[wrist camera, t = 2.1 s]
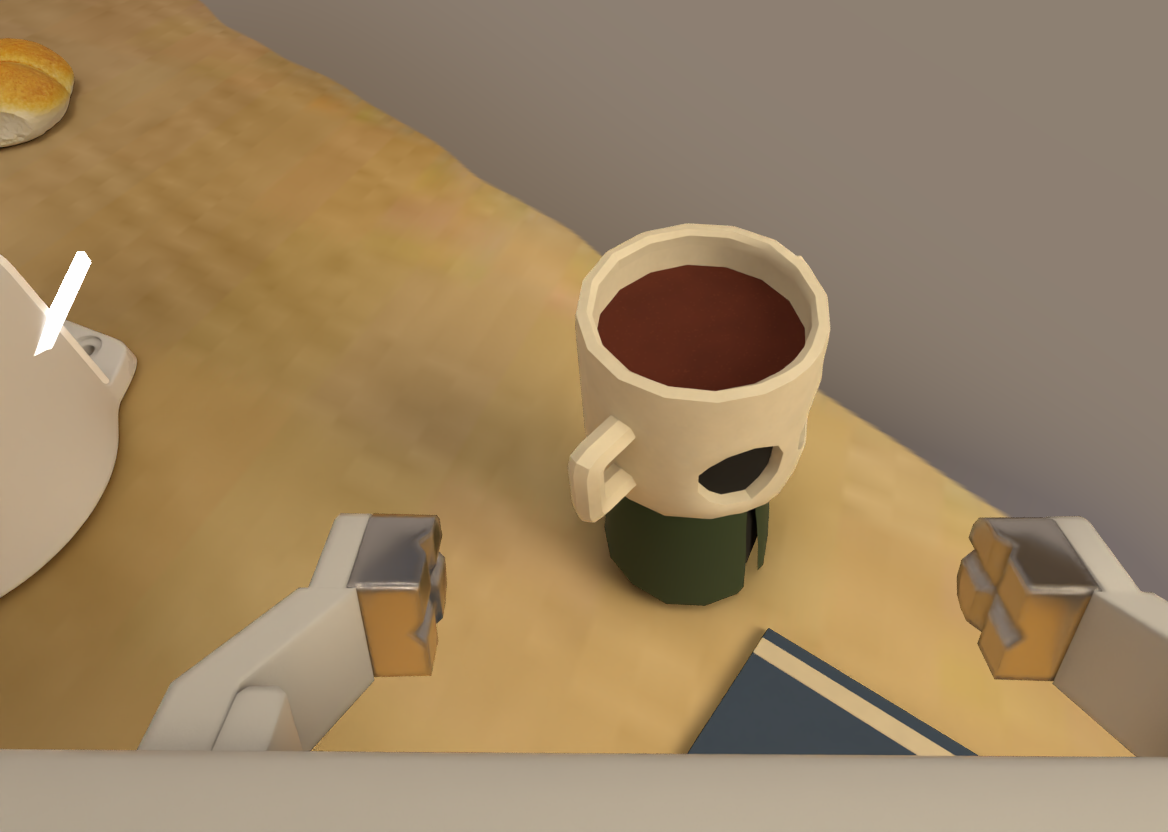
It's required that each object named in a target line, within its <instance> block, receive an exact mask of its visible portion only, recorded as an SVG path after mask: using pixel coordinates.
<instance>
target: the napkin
mask: <svg viewBox="0 0 1168 832" xmlns="http://www.w3.org/2000/svg"><path fill="white" fill-rule="evenodd" d="M687 754H791V755H921V756H978V755H977V754H975V753H973V752H972V751H970V750H968V749H967V748H965V747H963V746H962V745H960V744H959V743H957V742H955V741H954V740H952V739H950V738H949V737H947V736H945V735H944V734H942V733H940V732H939V731H937V730H936V729H934V728H932V727H931V726H929V725H927V724H926V723H924V722H922V721H921V720H919V719H917V718H916V717H914V716H913V715H911V714H909V713H908V712H906V711H904V710H903V709H901V708H899V707H898V706H896V705H894V704H893V703H891V702H889V701H888V700H886V699H885V698H883V697H881V696H880V695H878V694H876V693H875V692H873V691H871V690H870V689H868V688H866V687H865V686H863V685H862V684H860V683H858V682H857V681H855V680H853V679H852V678H850V677H848V676H847V675H845V674H843V673H842V672H840V671H839V670H837V669H835V668H834V667H832V666H830V665H829V664H827V663H825V662H824V661H822V660H820V659H819V658H817V657H815V656H814V655H812V654H811V653H809V652H807V651H806V650H804V649H802V648H801V647H799V646H797V645H796V644H794V643H792V642H791V641H789V640H788V639H786V638H784V637H783V636H781V635H779V634H778V633H776V632H774V631H773V630H771V629H769V628H768V629H767V631H766V632H765V634H764V635H763V637H762V638H761V640H760V641H759V643H758V644H757V646H756V648H755V649H754V651H753V652H752V654H751V656H750V657H749V659H748V660H747V662H746V663H745V665H744V666H743V668H742V670H741V671H740V673H739V674H738V676H737V677H736V679H735V680H734V682H733V683H732V685H731V687H730V688H729V690H728V691H727V693H726V694H725V696H724V697H723V699H722V701H721V702H720V704H719V705H718V707H717V708H716V710H715V711H714V713H713V715H712V716H711V718H710V719H709V721H708V722H707V724H706V725H705V727H704V728H703V730H702V732H701V733H700V735H699V736H698V738H697V739H696V741H695V742H694V744H693V746H692V747H691V749H690V750H689V752H688V753H687Z"/></svg>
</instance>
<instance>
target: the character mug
mask: <svg viewBox="0 0 1168 832" xmlns="http://www.w3.org/2000/svg"><path fill="white" fill-rule="evenodd" d="M575 330H576V341H577V352H578V363H579V374H580V384H581V395H582V406H583V417H584V428H585V433H586V438H585V439H584V440H583V441H582V442H581V443H580V444H579V445H578V446H577V447H576V449H575V450H574V451H573V452H572V454H571V455H570V458H569V463H568V475H569V483H570V491H571V499H572V505H573V507H574V509H575V511H576V513H577V515H578V517H579V518H580V519H581V520H582V521H585V522H592V523H594V522H596V521H597V520H599V519H600V518H602V517H603V516H604V515H605V514H606V518H605V532H606V537H607V542H608V547H609V551H610V556H611V558H612V559H613V561H614V562H615V563H616V564H617V566H618V567H619V568H620V569H621V570H622V572H623V573H624V574H625V575H626V577H627V578H628V579H629V580H630V582H631V583H632V584H633V585H635V586H637V587H638V588H640V589H642V590H644V591H645V592H647V593H649V594H651V595H652V596H654V597H656V598H658V599H659V600H661V601H663V602H664V603H666V604H683V605H702V606H705V605H708V604H711V603H713V602H716V601H719V600H721V599H724V598H727V597H729V596H732V595H735V594H737V593H738V592H739V591H740V590H741V589H742V588H743V585H744V573H745V563H746V562H747V560H748V557H749V555H750V552H751V550H752V547H753V545H754V543H755V540H756V538H757V535H758V569H759V568H760V567H761V566H762V565H763V561H764V555H765V549H766V542H767V536H768V521H769V501H770V500H771V499H772V498H774V497H775V496H776V495H777V494H778V493H780V491H781V490H782V488H783V487H784V485H785V484H786V482H787V481H788V479H789V478H790V476H791V475H792V473H793V472H794V470H795V468H796V465H797V463H798V461H799V458H800V456H801V454H802V451H803V449H804V447H805V444H806V432H807V416H808V414H809V411H810V408H811V406H812V403H813V400H814V398H815V395H816V392H817V390H818V387H819V384H820V381H821V379H822V368H823V361H824V357H825V352H826V348H827V344H828V340H829V334H830V319H829V309H828V298H827V295H826V293H825V291H824V290H823V288H822V287H821V285H820V283H819V282H818V280H817V279H816V277H815V275H814V274H813V272H812V271H811V269H810V267H809V266H808V264H806V262H805V261H804V259H803V258H802V256H796V255H794V254H793V253H792V252H790V251H789V250H788V249H786V248H785V247H784V246H782V245H781V244H780V243H778V242H777V241H776V240H774V239H771V238H768V237H765V236H762V235H759V234H755V233H752V232H749V231H746V230H743V229H740V228H737V227H734V226H722V225H705V224H688V223H687V224H682V225H677V226H672V227H667V228H662V229H657V230H652V231H647V232H643V233H641V234H639V235H637V236H635V237H633V238H631V239H630V240H628V241H626V242H624V243H622V244H620V245H618V246H616V247H614V248H613V249H611V250H609V251H607V252H606V253H605V254H604V256H603V257H602V258H601V259H600V260H599V262H598V263H597V264H596V265H595V266H594V267H593V269H592V270H591V271H590V272H589V273H588V275H587V276H586V277H585V278H584V279H583V282H582V287H581V292H580V297H579V301H578V306H577V311H576V321H575Z"/></svg>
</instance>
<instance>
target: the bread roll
mask: <svg viewBox="0 0 1168 832" xmlns="http://www.w3.org/2000/svg"><path fill="white" fill-rule="evenodd" d="M73 84H74V74H73V71H72V69H71V67H70V66H69V64H68V63H67V62H66V61H65V60H64V59H63V58H62V57H60V56H59V55H58V54H56V53H55V52H53V51H52V50H50V49H49V48H47V47H45V46H43V45H41V44H38V43H35V42H32V41H27V40H22V39H10V38H6V39H0V147H7V146H12V145H17V144H21V143H24V142H27V141H30V140H33V139H35V138H37V137H39V136H41V135H43V134H44V133H45V132H46V131H47V130H49V129H50V128H52V127H53V126H54V125H55V124H56V123H58V122H59V121H60V120H61V119H62V117H63V116H64V114H65V112H66V110H67V108H68V105H69V100H70V95H71V93H72V90H73Z"/></svg>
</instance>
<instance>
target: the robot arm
mask: <svg viewBox="0 0 1168 832" xmlns="http://www.w3.org/2000/svg"><path fill="white" fill-rule="evenodd" d="M90 264H91V261H90V259H89V258H88V256H87V255H86V253H85V252H84V251H79V252H77V253H76V255H75V258H74V260H73V262H72V264H71V266H70V268H69V270H68V272H67V274H66V276H65V278H64V280H63V282H62V285H61V287H60V289H59V291H58V293H57V295H56V297H55V299H54V301H53V303H52V305H51V307H50V309H49V308H48V307H47V305H46V304H45V303H44V302H43V301H42V299H41V298H40V297H39V296H38V295H37V294H36V292H35V291H34V290H33V289H32V288H31V286H30V285H29V284H28V283H27V282H26V281H25V279H24V278H23V277H22V276H21V275H20V274H19V272H18V271H17V270H16V269H15V268H14V267H13V265H12V264H11V263H10V262H9V261H8V260H7V259H6V258H4V257H3V256H2V255H1V254H0V598H1V597H2V596H4V595H5V594H7V593H8V592H10V591H11V590H13V589H14V588H16V587H17V586H19V585H20V584H21V583H23V582H24V581H26V580H27V579H28V578H29V577H31V576H32V575H33V574H34V573H36V572H37V571H38V570H39V569H41V568H42V567H43V566H44V565H45V564H46V563H47V562H49V561H50V560H51V559H52V558H53V557H54V556H55V555H56V554H57V553H58V552H59V551H60V550H61V549H62V548H63V547H64V546H65V545H66V544H67V543H68V542H69V541H70V540H71V538H72V537H73V536H74V535H75V534H76V533H77V531H78V530H79V529H80V528H81V526H82V525H83V524H84V522H85V521H86V520H87V518H88V517H89V515H90V514H91V513H92V511H93V510H94V508H95V506H96V505H97V503H98V501H99V500H100V498H101V496H102V494H103V492H104V490H105V488H106V486H107V484H108V482H109V479H110V477H111V474H112V471H113V468H114V465H115V461H116V457H117V451H118V441H119V430H118V413H119V406H120V402H121V400H122V398H123V397H124V395H125V393H126V391H127V389H128V387H129V385H130V383H131V380H132V378H133V376H134V373H135V370H136V367H137V358H136V356H135V355H134V354H133V353H132V352H131V350H130V349H129V348H128V347H127V346H126V345H125V344H124V343H123V342H122V341H120V340H118V339H115V338H113V337H110V336H107V335H105V334H102V333H99V332H97V331H94V330H91V329H89V328H86V327H84V326H81V325H78V324H76V323H73V322H70V321H68V320H65V318H66V316H67V314H68V312H69V310H70V307H71V305H72V303H73V301H74V299H75V297H76V294H77V292H78V290H79V288H80V286H81V284H82V281H83V279H84V277H85V275H86V273H87V271H88V268H89V266H90ZM441 539H442V531H441V524H440V519H439V517H438V516H437V515H414V514H377V513H373V514H356V513H340V514H339V515H338V516H337V517H336V519H335V520H334V522H333V525H332V527H331V530H330V533H329V535H328V538H327V540H326V543H325V546H324V548H323V551H322V553H321V556H320V558H319V561H318V564H317V566H316V569H315V571H314V574H313V577H312V579H311V582H310V584H309V587H308V588H298V589H296V590H295V591H294V592H292V593H291V594H290V595H288V596H287V597H286V598H284V599H283V600H282V601H280V602H279V603H278V604H276V605H275V606H274V607H272V608H271V609H270V610H268V611H267V612H266V613H264V614H263V615H261V616H260V617H259V618H257V619H256V620H255V621H253V622H252V623H251V624H249V625H248V626H247V627H245V628H244V629H243V630H241V631H240V632H239V633H237V634H236V635H235V636H233V637H232V638H231V639H229V640H228V641H227V642H225V643H224V644H222V645H221V646H220V647H218V648H217V649H216V650H214V651H213V652H212V653H210V654H209V655H208V656H206V657H205V658H204V659H202V660H201V661H200V662H198V663H197V664H196V665H194V666H193V667H192V668H190V669H189V670H188V671H186V672H185V673H183V674H182V675H181V676H179V677H178V678H177V679H175V680H174V681H173V682H171V684H170V686H169V688H168V690H167V691H166V693H165V695H164V697H163V699H162V701H161V703H160V705H159V707H158V709H157V711H156V713H155V715H154V717H153V719H152V721H151V723H150V725H149V727H148V729H147V731H146V733H145V735H144V737H143V739H142V741H141V743H140V745H139V747H138V749H137V750H61V749H0V832H1168V601H1166V600H1164V599H1162V598H1161V597H1159V596H1157V595H1155V594H1154V593H1152V592H1141V591H1140V590H1139V588H1138V587H1137V586H1136V584H1135V583H1134V582H1133V581H1132V579H1131V578H1130V577H1129V575H1128V574H1127V572H1126V571H1125V570H1124V568H1123V567H1122V565H1121V564H1120V563H1119V561H1118V560H1117V559H1116V557H1115V556H1114V555H1113V553H1112V552H1111V550H1110V549H1109V548H1108V546H1107V545H1106V544H1105V542H1104V541H1103V540H1102V538H1101V537H1100V536H1099V534H1098V533H1097V531H1096V530H1095V529H1094V528H1093V526H1092V525H1091V524H1090V522H1089V521H1088V520H1086V519H1085V518H1083V517H1081V516H1071V517H1070V516H1069V517H1066V516H1064V517H1046V518H1041V517H1040V518H978V520H977V521H976V522H975V523H974V524H973V527H972V529H971V532H970V535H969V539H970V541H971V543H972V545H973V547H974V550H973V551H972V552H971V553H969V554H968V555H967V556H966V557H964V558H963V559H962V560H961V564H960V567H959V571H958V574H957V596H958V600H959V604H960V608H961V610H962V612H963V615H964V617H965V619H966V621H967V622H969V623H970V624H971V625H973V626H974V627H976V628H977V629H978V630H980V631H981V635H980V638H979V641H978V643H977V644H978V646H979V648H980V650H981V652H982V654H983V657H984V659H985V661H986V663H987V665H988V667H989V669H990V671H991V673H992V675H993V677H994V679H1004V680H1035V681H1053V683H1052V684H1053V685H1055V686H1056V687H1057V688H1058V689H1059V690H1060V691H1061V692H1063V693H1064V694H1065V695H1066V696H1067V697H1068V698H1069V699H1071V700H1072V701H1073V702H1074V703H1075V704H1076V705H1077V706H1079V707H1080V708H1081V709H1082V710H1083V711H1084V712H1086V713H1087V714H1088V715H1089V716H1090V717H1091V718H1092V719H1094V720H1095V721H1096V722H1097V723H1098V724H1099V725H1100V726H1102V727H1103V728H1104V729H1105V730H1106V731H1107V732H1108V733H1110V734H1111V735H1112V736H1113V737H1114V738H1115V739H1117V740H1118V741H1119V742H1120V743H1121V744H1122V745H1123V746H1125V747H1126V748H1127V749H1128V750H1129V751H1130V752H1131V753H1133V754H1134V755H1135V756H1136V757H1054V756H921V755H791V754H629V753H481V752H333V751H311V750H312V749H313V747H314V746H315V745H316V744H317V743H318V742H319V741H320V740H321V739H322V738H323V736H324V735H325V734H326V733H327V732H328V731H329V730H330V729H331V728H332V726H333V725H334V724H335V723H336V722H337V721H338V720H339V719H340V718H341V717H342V715H343V714H344V713H345V712H346V711H347V710H348V709H349V708H350V707H351V705H352V704H353V703H354V702H355V701H356V700H357V699H358V698H359V697H360V696H361V694H362V693H363V692H364V691H365V690H366V689H367V688H368V687H369V686H370V684H371V683H372V682H373V681H374V677H394V676H431V674H432V669H433V664H434V660H435V655H436V650H437V645H438V635H437V627H436V624H437V623H438V622H439V621H440V620H441V619H442V618H443V614H444V608H445V601H446V588H447V577H446V562H445V557H444V556H443V555H442V554H441V553H440V552H439V549H440V544H441Z"/></svg>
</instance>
